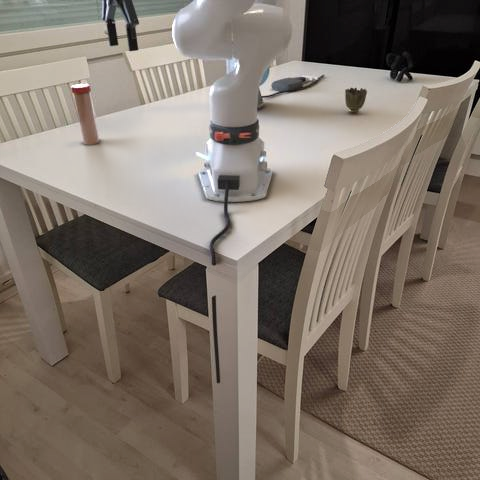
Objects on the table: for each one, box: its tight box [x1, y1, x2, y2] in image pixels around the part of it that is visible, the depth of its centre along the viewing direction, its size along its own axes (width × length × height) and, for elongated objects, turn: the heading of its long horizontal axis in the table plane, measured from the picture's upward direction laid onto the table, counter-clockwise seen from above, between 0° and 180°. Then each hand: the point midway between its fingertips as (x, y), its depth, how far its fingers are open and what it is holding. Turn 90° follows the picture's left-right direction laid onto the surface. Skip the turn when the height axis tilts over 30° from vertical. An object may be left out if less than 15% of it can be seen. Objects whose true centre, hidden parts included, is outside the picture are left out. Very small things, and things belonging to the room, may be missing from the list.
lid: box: [70, 83, 91, 94], centre depth 129 cm, size 5×5×2 cm
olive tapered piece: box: [344, 87, 368, 115], centre depth 156 cm, size 8×7×8 cm
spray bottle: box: [270, 75, 319, 92], centre depth 194 cm, size 3×11×24 cm
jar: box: [72, 91, 100, 146], centre depth 133 cm, size 5×5×16 cm
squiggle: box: [385, 51, 414, 83], centre depth 198 cm, size 11×10×15 cm
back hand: (123, 48), depth 140 cm, fingers open, 13 cm apart
